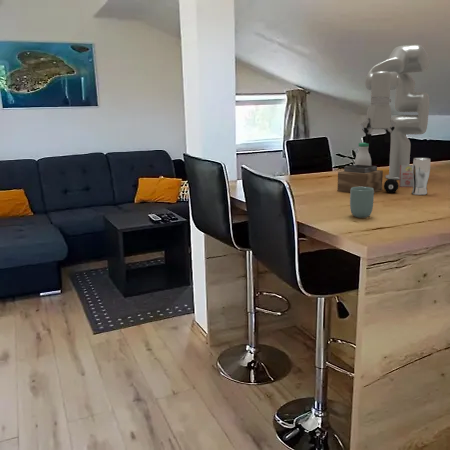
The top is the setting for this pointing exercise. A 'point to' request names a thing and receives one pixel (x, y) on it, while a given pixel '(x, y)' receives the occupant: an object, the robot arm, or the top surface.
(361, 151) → the milk bottle
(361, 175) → the housing
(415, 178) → the beer glass
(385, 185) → the billiard ball
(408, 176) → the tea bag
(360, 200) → the cup
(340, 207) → the top surface
